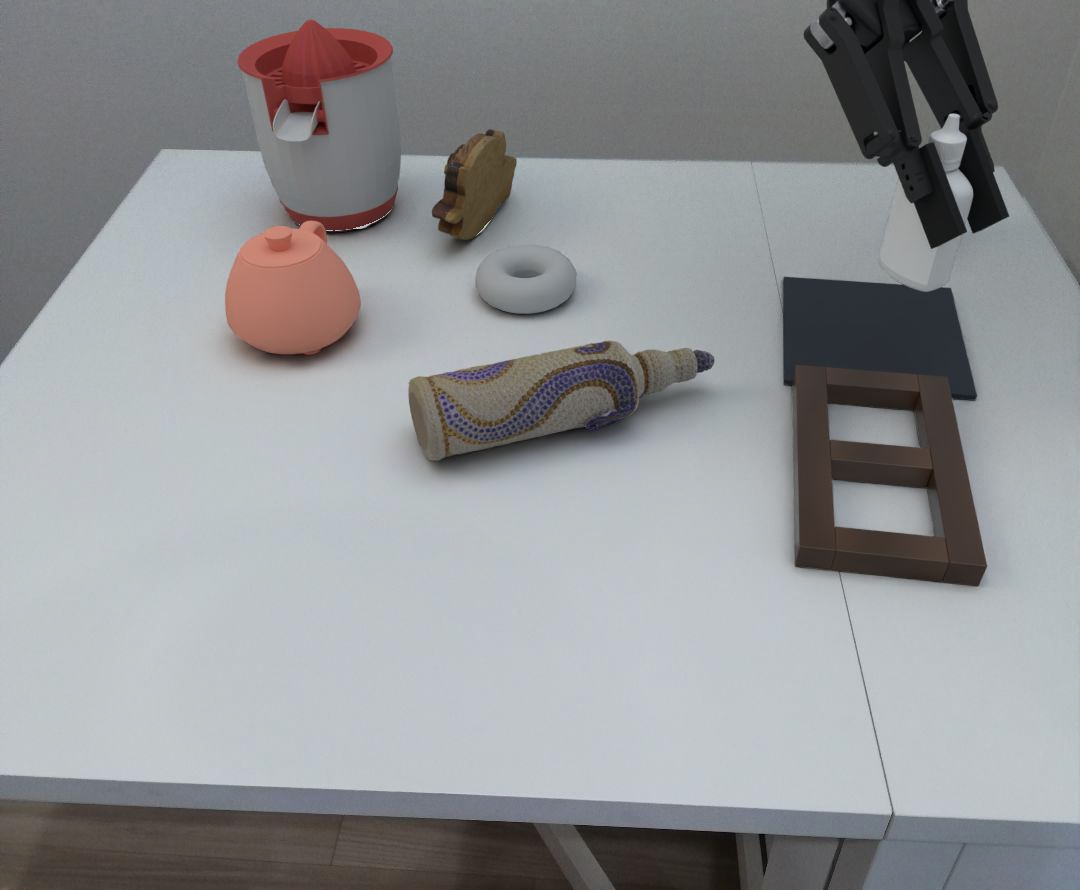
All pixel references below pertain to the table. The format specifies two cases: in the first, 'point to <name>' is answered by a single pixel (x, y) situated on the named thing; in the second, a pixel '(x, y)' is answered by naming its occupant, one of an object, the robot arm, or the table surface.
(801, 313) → the mat
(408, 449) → the table surface
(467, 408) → the decorative bottle
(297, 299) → the sugar bowl
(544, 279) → the donut
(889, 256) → the eye dropper bottle
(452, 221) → the wooden carving
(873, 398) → the rack
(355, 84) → the citrus juicer
